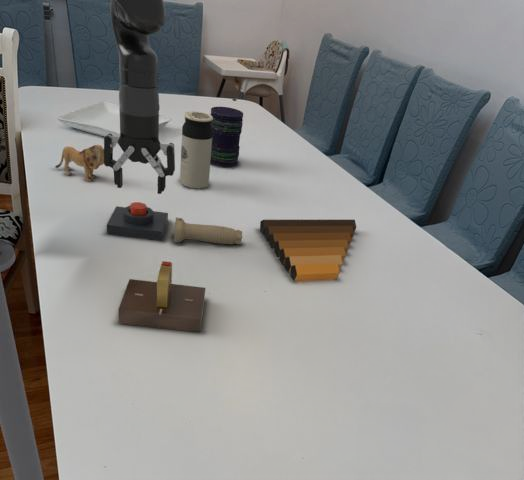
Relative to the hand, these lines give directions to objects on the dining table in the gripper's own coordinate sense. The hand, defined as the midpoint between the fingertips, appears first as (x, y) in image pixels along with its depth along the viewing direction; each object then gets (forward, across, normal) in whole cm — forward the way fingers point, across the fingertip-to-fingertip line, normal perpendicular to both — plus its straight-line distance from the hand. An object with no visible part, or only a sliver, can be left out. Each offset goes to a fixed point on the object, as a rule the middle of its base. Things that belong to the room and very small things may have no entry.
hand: (140, 189), depth 107 cm
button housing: (+10, -1, +1) cm, 10 cm away
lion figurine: (+10, -20, +27) cm, 35 cm away
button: (+6, -1, +1) cm, 6 cm away
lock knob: (+7, +10, -30) cm, 33 cm away
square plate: (+10, -22, +71) cm, 75 cm away
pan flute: (+10, +43, +2) cm, 44 cm away
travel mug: (+10, +8, +33) cm, 35 cm away
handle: (+8, +23, 0) cm, 24 cm away
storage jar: (+10, +15, +54) cm, 57 cm away
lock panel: (+10, +10, -30) cm, 33 cm away
